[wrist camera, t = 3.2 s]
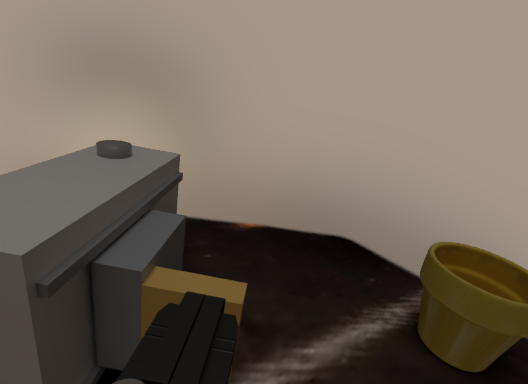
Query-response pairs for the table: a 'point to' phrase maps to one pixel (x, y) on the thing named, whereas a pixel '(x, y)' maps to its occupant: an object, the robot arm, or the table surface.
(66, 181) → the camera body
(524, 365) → the table surface
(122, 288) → the door
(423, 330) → the plant pot
